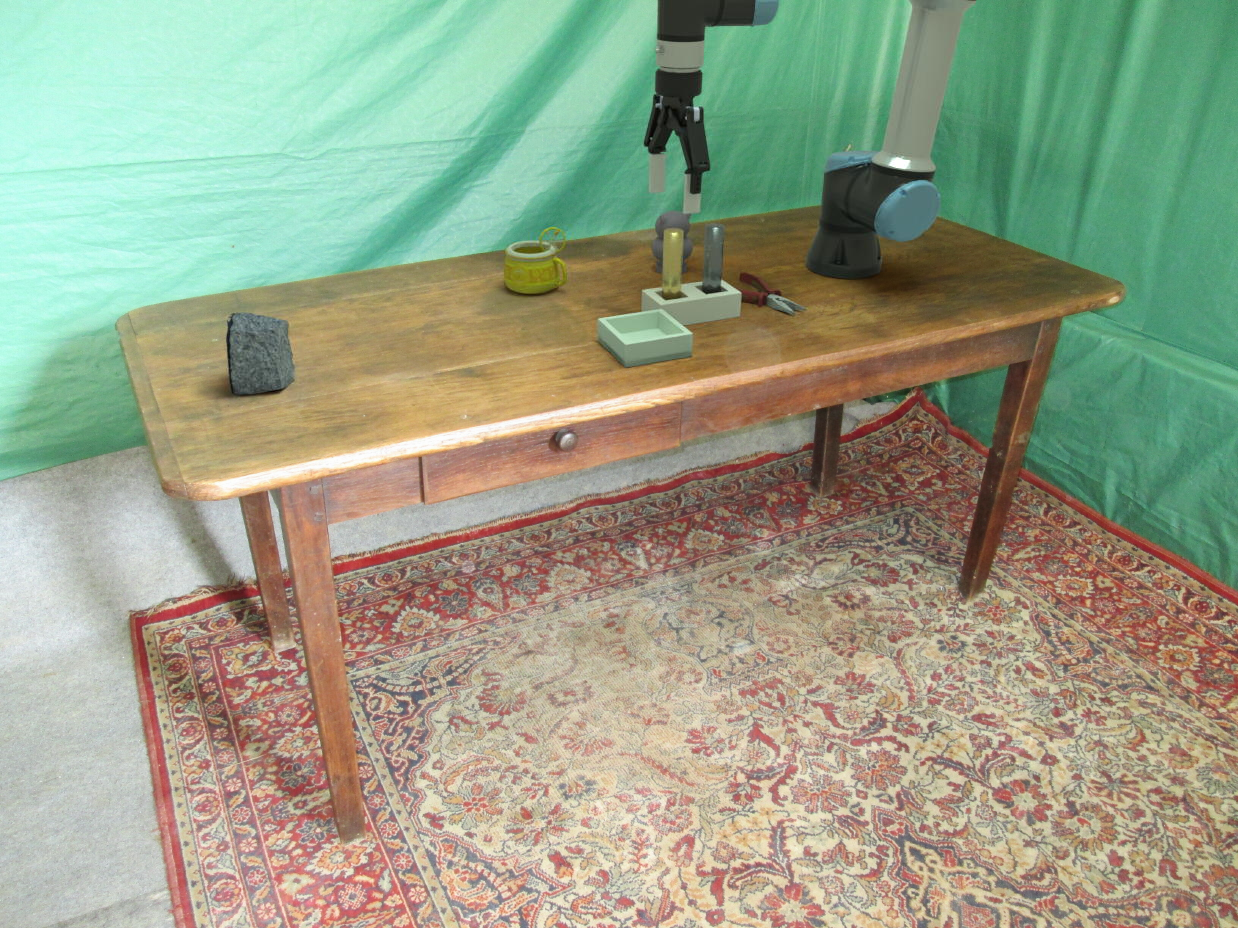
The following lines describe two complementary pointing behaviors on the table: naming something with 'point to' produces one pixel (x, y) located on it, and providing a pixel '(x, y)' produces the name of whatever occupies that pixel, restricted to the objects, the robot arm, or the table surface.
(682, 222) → the cat figurine
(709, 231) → the pin dark
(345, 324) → the table surface
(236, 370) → the stone
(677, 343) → the tray
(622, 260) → the table surface
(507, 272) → the mug
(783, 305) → the pliers
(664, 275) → the pin brass
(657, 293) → the pale green peg holder
